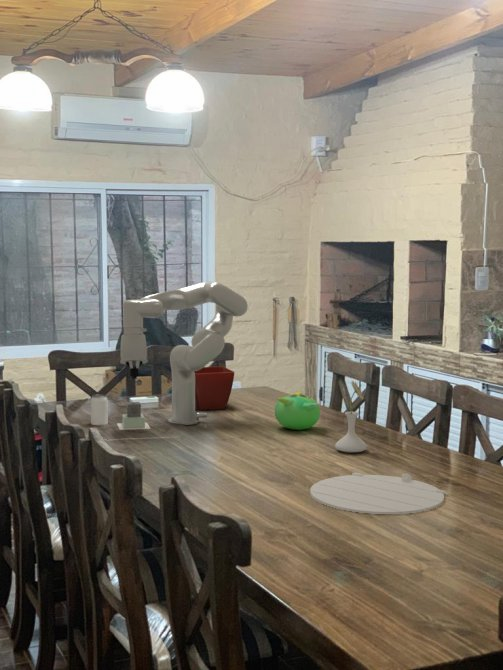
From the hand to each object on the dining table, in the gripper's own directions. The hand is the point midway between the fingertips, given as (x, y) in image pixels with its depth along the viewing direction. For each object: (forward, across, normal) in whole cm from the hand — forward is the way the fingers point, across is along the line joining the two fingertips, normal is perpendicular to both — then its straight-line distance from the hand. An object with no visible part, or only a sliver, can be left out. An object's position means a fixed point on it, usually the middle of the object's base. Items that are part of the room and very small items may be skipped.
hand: (134, 378), depth 355 cm
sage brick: (+19, +1, 0) cm, 19 cm away
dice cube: (+15, 0, 0) cm, 15 cm away
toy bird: (+21, -62, +14) cm, 67 cm away
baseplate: (+20, +1, 0) cm, 20 cm away
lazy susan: (+21, -60, +106) cm, 124 cm away
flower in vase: (+21, -71, +52) cm, 91 cm away
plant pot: (+21, -36, -38) cm, 56 cm away
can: (+20, +14, -7) cm, 25 cm away
